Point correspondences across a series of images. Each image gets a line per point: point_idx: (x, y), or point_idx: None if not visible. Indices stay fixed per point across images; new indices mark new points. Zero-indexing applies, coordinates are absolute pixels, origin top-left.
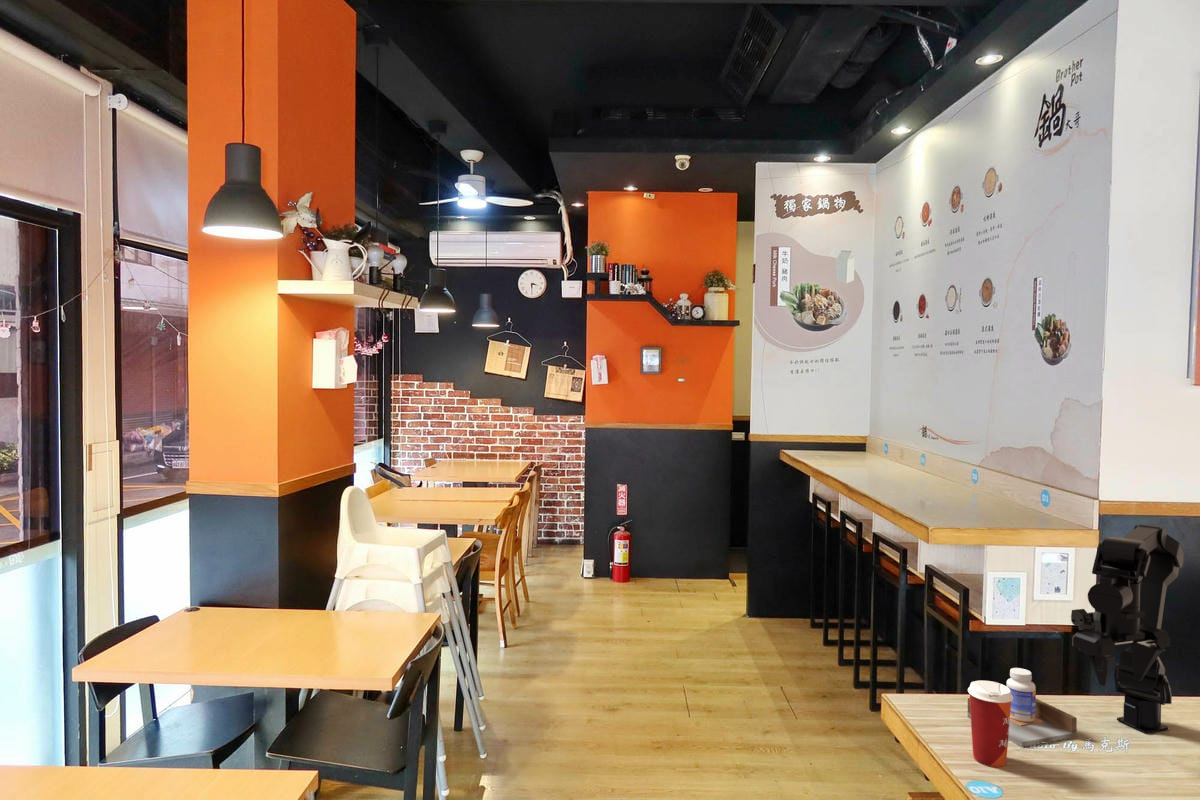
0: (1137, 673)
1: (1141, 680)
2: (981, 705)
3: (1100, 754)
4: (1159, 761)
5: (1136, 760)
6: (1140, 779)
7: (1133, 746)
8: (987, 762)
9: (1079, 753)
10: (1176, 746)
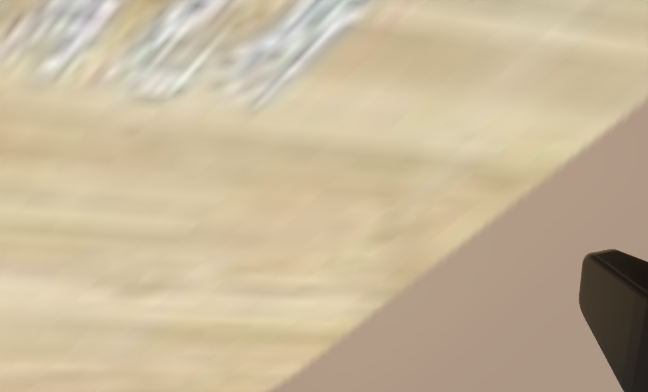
0: (631, 341)
1: None
2: None
3: (75, 119)
4: (340, 213)
5: (232, 195)
6: (106, 338)
7: (351, 59)
8: None
9: None
10: (578, 91)
